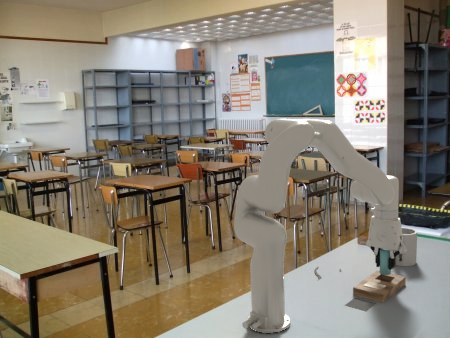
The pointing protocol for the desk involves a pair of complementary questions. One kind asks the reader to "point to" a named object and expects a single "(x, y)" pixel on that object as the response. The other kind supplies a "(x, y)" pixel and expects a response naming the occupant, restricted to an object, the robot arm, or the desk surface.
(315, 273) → the pliers
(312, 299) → the desk surface
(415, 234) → the cup
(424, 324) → the desk surface
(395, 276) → the wooden peg hole block
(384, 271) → the peg
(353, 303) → the pad
